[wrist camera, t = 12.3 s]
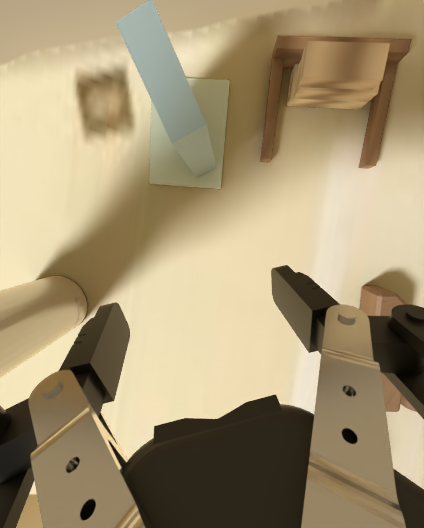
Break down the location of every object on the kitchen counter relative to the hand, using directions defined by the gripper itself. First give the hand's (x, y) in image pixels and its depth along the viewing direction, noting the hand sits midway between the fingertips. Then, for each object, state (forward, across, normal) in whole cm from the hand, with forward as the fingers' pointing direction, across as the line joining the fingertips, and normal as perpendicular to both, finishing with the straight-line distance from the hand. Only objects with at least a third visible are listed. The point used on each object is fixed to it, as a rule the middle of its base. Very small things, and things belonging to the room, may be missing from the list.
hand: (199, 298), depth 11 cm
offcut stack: (+22, -20, -11) cm, 32 cm away
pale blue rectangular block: (+24, -3, -8) cm, 25 cm away
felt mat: (+25, -3, -9) cm, 26 cm away
